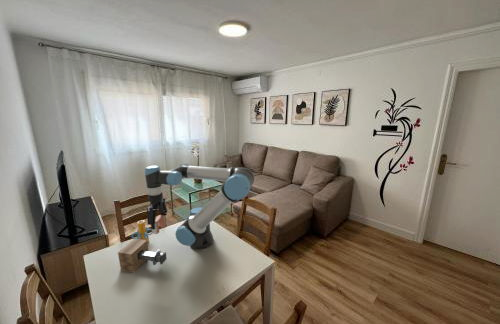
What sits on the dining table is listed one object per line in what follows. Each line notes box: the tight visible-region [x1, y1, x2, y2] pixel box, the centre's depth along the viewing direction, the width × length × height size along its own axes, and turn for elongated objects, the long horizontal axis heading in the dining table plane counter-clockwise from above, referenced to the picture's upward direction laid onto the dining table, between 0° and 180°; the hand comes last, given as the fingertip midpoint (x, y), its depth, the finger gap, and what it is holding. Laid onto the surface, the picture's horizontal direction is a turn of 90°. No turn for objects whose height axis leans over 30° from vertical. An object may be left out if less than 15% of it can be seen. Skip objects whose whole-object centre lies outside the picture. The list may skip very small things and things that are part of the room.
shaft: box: [137, 249, 167, 266], centre depth 109 cm, size 18×5×5 cm, turn 79°
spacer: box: [155, 214, 167, 235], centre depth 118 cm, size 3×8×8 cm, turn 169°
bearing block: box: [117, 239, 150, 273], centre depth 111 cm, size 8×12×11 cm, turn 169°
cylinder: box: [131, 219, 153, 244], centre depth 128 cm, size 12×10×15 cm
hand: (159, 229), depth 119 cm, fingers closed on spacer, 8 cm apart
